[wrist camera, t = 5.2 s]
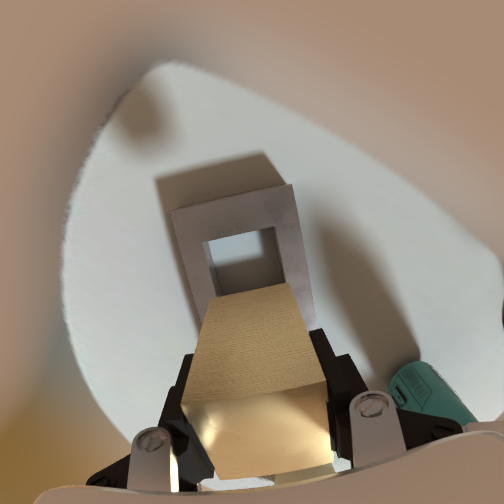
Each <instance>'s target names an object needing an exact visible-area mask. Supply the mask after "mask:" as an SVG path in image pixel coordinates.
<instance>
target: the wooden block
mask: <svg viewBox="0 0 504 504" xmlns="http://www.w3.org/2000/svg"><path fill="white" fill-rule="evenodd" d="M326 402H328V392H327V383H326V379H325V376H324V373H323V371H322V368H321V365H320V363H319V360H318V357H317V355H316V352H315V350H314V347H313V344H312V342H311V339H310V337H309V334H308V331H307V329H306V326H305V324H304V321H303V318H302V316H301V313H300V311H299V308H298V306H297V303H296V300H295V298H294V295H293V293H292V290H291V288H290V285H289V283H288V282H287V283H282V284H278V285H273V286H268V287H264V288H259V289H254V290H250V291H245V292H240V293H235V294H230V295H225V296H220V297H215V298H210V300H209V304H208V307H207V311H206V314H205V317H204V321H203V324H202V328H201V331H200V335H199V338H198V342H197V346H196V349H195V353H194V356H193V360H192V364H191V367H190V371H189V375H188V378H187V382H186V386H185V389H184V393H183V397H182V400H181V404H180V406H181V408H182V410H183V412H184V414H185V416H186V418H187V420H188V422H189V424H192V426H193V428H194V430H195V432H196V434H197V436H198V438H199V440H200V441H201V443H202V445H203V447H204V449H205V451H206V453H207V455H208V456H209V458H210V460H211V462H212V464H213V465H214V467H215V469H214V470H215V472H216V474H217V476H218V477H219V479H220V480H229V479H240V478H250V477H258V476H265V475H272V474H279V473H285V472H290V471H296V470H301V469H306V468H311V467H315V466H319V465H324V464H328V463H332V462H334V456H333V450H332V451H331V444H330V434H329V424H328V414H327V405H326Z"/></svg>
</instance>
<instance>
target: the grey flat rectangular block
mask: <svg viewBox="0 0 504 504" xmlns="http://www.w3.org/2000/svg"><path fill="white" fill-rule="evenodd" d="M170 215H171V219H172V223H173V227H174V231H175V235H176V239H177V242H178V246H179V250H180V253H181V257H182V261H183V264H184V268H185V271H186V275H187V278H188V282H189V285H190V289H191V292H192V295H193V299H194V302H195V305H196V308H197V312H198V315H199V318H200V321H201V324H203V321H204V317H205V314H206V311H207V307H208V304H209V300H210V298H215V297H220V296H222V294H221V290H220V286H219V283H218V279H217V275H216V271H215V267H214V264H213V260H212V256H211V252H210V248H209V244H208V241H211V240H215V239H219V238H224V237H228V236H233V235H237V234H242V233H246V232H251V231H255V230H260V229H264V228H269V227H273V231H274V236H275V240H276V245H277V250H278V255H279V260H280V265H281V270H282V275H283V280H284V283H287V282H288V283H289V285H290V288H291V290H292V293H293V295H294V298H295V300H296V303H297V306H298V308H299V311H300V313H301V316H302V318H303V321H304V324H305V326H306V329H307V331H308V334H309V331H312V330H316V329H317V324H316V317H315V310H314V304H313V297H312V291H311V285H310V279H309V273H308V267H307V261H306V255H305V250H304V244H303V239H302V233H301V228H300V223H299V217H298V212H297V207H296V202H295V197H294V192H293V187H292V184H283V185H278V186H273V187H268V188H263V189H259V190H254V191H249V192H245V193H240V194H236V195H231V196H227V197H223V198H218V199H214V200H210V201H206V202H202V203H198V204H194V205H189V206H186V207H182V208H178V209H175V210H173V211H171V212H170ZM281 284H282V283H281ZM277 285H278V284H277ZM272 286H273V285H272ZM263 288H264V287H263ZM258 289H259V288H258ZM249 291H250V290H249ZM244 292H245V291H244Z"/></svg>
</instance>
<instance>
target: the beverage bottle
mask: <svg viewBox="0 0 504 504" xmlns="http://www.w3.org/2000/svg"><path fill="white" fill-rule="evenodd" d="M433 369H434V368H433V366H432V367H431V365H429V364H427V363H426V362H423V361H414V362H411V363H409V364H407V365H405V366H403V367H402V368H401V369H400V370H398V371H397V372H396V374H395V375H394V376H393V377H392V379H391V381H390V383H389V386H388V392H389V393H388V394H389V395H390V396H391V397H392V399H393V401H394V404H395V406H396V407H395V408H398V409H403V410H408V411H412V412H417V413H422V414H427V415H433V416H438V417H444V418H449V419H452V420H455V421H456V422H458V423H459V424H460V425H461V426H467V423H470V422H479V421H478V420H477V419H476V418H475V417H474V416H473V414H472V413H471V412H470V411H469V410H468V408H467V407H466V406H465V405H464V404H463V403H462V401H461V400H460V399H459V397H458V396H457V395H456V394H455V393H454V392H453V391H452V389H451V388H452V387H451V386H450V387H451V388H450V387H449V386H448V385H449V384H448V385H447V384H446V383H445V381H443V380H444V378H443V379H442V378H441V377H440V376H441V375H440V374H439V375H440V376H439V375H438V374H437V373H438V372H437V373H436V372H435V371H436V370H435V371H434V370H433Z"/></svg>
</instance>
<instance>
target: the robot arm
mask: <svg viewBox="0 0 504 504" xmlns="http://www.w3.org/2000/svg"><path fill="white" fill-rule="evenodd" d="M309 337H310V339H311V342H312V344H313V347H314V350H315V352H316V355H317V357H318V360H319V363H320V365H321V368H322V371H323V373H324V376H325V379H326V383H327V392H328V402H326V405H327V414H328V424H329V434H330V444H331V451H332V450H333V452H334V451H336V453H337V456H338V458H344V459H347V460H350V463H351V469H349V470H345V471H342V472H338V473H334V474H330V475H326V476H321V477H317V478H312V479H307V480H302V481H297V482H291V483H286V484H279V485H273V486H266V487H258V488H249V489H238V490H225V491H205V492H202V488H201V484H200V482H201V481H202V480H203V479H208V478H213V476H214V471H215V470H214V469H215V467H214V465H213V464H212V462H211V460H210V458H209V456H208V455H207V453H206V451H205V449H204V447H203V445H202V443H201V441H200V440H199V438H198V436H197V434H196V432H195V430H194V428H193V426H192V424H189V422H188V420H187V418H186V416H185V414H184V412H183V410H182V408H181V406H180V404H181V400H182V397H183V393H184V389H185V386H186V382H187V378H188V375H189V371H190V367H191V364H192V360H193V356H194V353H193V354H186V355H185V356H184V359H183V362H182V365H181V369H180V372H179V375H178V378H177V381H176V384H175V386H172V387H171V388H170V389H169V392H168V395H167V398H166V402H165V405H164V408H163V411H162V414H161V417H160V420H159V423H158V426H157V427H150V428H147V429H144V430H142V431H141V432H139V433H138V434H137V435H136V436H135V438H134V439H133V442H132V448H131V454H129V455H127V456H126V457H124V458H122V459H120V460H119V461H117V462H116V463H113V464H112V465H110V466H108V467H106V468H105V469H103V470H101V471H99V472H97V473H95V474H94V475H92V476H91V477H90V478H89V479H88V480H87V483H86V485H83V484H82V483H81V484H77V485H74V486H63V487H56V488H53V489H49V490H47V491H45V492H43V493H42V494H41V495H40V496H39V497H38V498H37V499H36V500H35V502H34V503H33V504H504V421H491V422H470V423H467V426H461V425H460V424H459V423H458V422H456V421H455V420H452V419H449V418H444V417H438V416H433V415H427V414H422V413H417V412H412V411H408V410H403V409H398V408H395V405H394V401H393V399H392V397H391V396H390V395H389V394H387V393H385V392H383V391H377V390H373V391H369V390H368V388H367V387H366V385H365V383H364V381H363V379H362V377H361V375H360V374H359V372H358V370H357V368H356V366H355V364H354V362H353V361H352V359H351V357H350V355H349V354H344V355H341V356H337V357H336V356H335V354H334V352H333V350H332V348H331V345H330V343H329V341H328V339H327V337H326V335H325V333H324V331H323V329H322V328H320V329H316V330H312V331H309Z"/></svg>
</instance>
